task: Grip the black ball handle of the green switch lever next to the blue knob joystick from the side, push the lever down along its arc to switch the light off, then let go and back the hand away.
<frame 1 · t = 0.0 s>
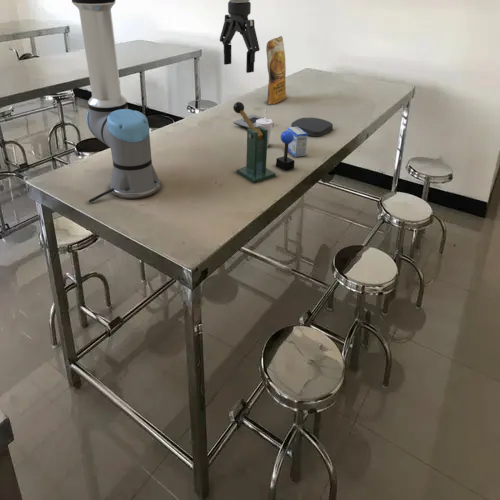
hand: (238, 68, 172), 28 cm above the table, tool pointing down, fingers open, 13 cm apart
media streaming box: (311, 130, 202), on the table
switch bracket: (255, 174, 164), on the table
blue knob joystick: (284, 167, 170), on the table
medicine box: (295, 153, 181), on the table
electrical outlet: (252, 126, 204), on the table
smoothie: (263, 146, 186), on the table
switch lever: (247, 120, 158), point 17 cm above the table, hinge at 30.0°
pancake mix bag: (275, 100, 235), on the table
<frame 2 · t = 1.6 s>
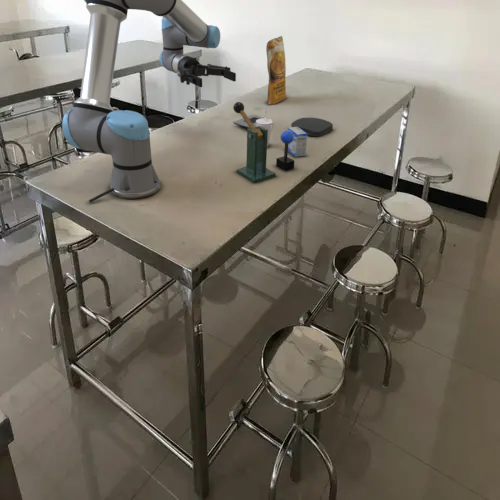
hand: (218, 80, 164), 26 cm above the table, tool horizontal, fingers open, 13 cm apart
nothing on the table moved.
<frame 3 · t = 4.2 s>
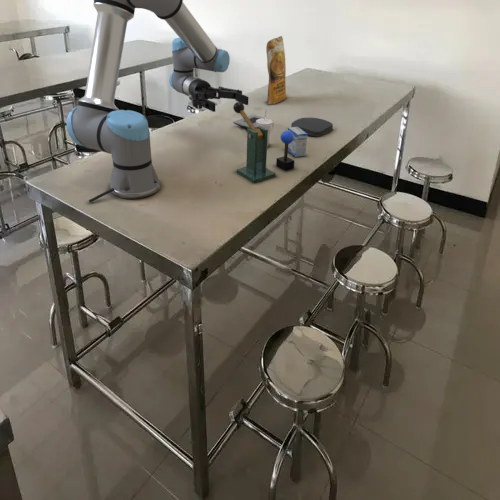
hand: (231, 104, 163), 20 cm above the table, tool horizontal, fingers open, 13 cm apart
nothing on the table moved.
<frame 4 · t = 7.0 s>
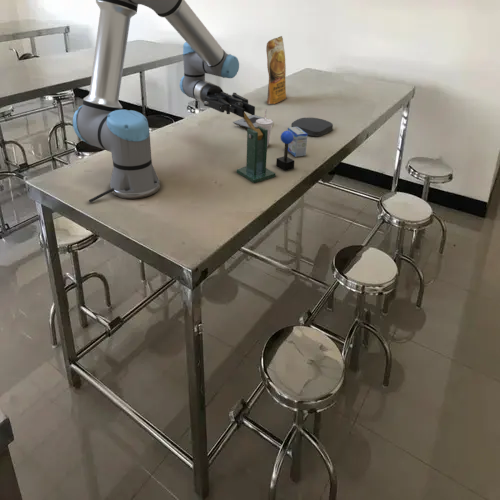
hand: (248, 112, 156), 20 cm above the table, tool horizontal, fingers closed on switch lever, 4 cm apart
switch lever: (247, 120, 158), point 17 cm above the table, hinge at 30.0°, touching gripper
everything else where it was.
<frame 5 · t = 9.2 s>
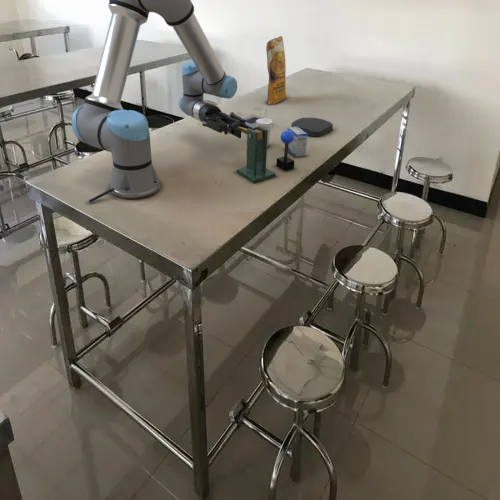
hand: (245, 132, 161), 13 cm above the table, tool horizontal, fingers closed on switch lever, 4 cm apart
switch lever: (245, 130, 161), point 13 cm above the table, hinge at -5.0°, touching gripper
everything else where it was.
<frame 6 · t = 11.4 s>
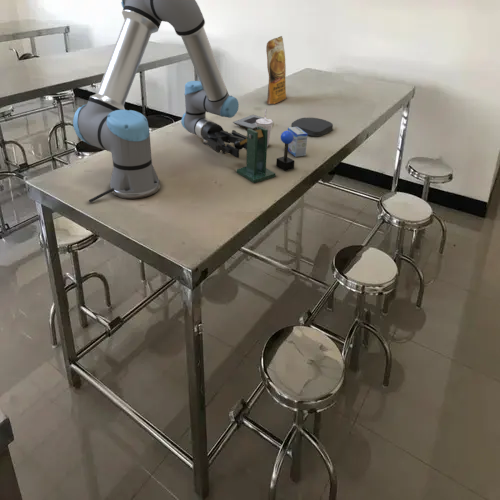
hand: (246, 151, 164), 6 cm above the table, tool horizontal, fingers open, 6 cm apart
switch lever: (247, 140, 162), point 11 cm above the table, hinge at -33.9°
everything else where it was.
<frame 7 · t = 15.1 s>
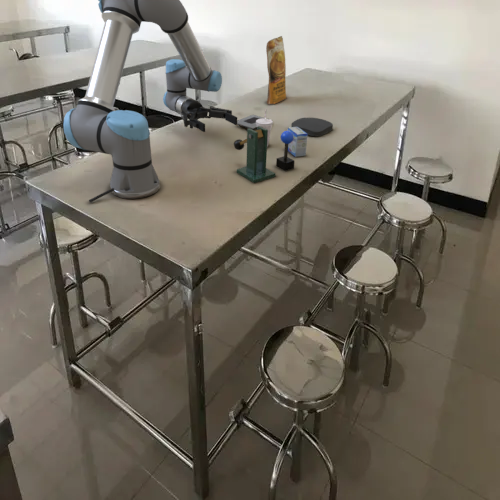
hand: (220, 124, 171), 11 cm above the table, tool horizontal, fingers open, 13 cm apart
nothing on the table moved.
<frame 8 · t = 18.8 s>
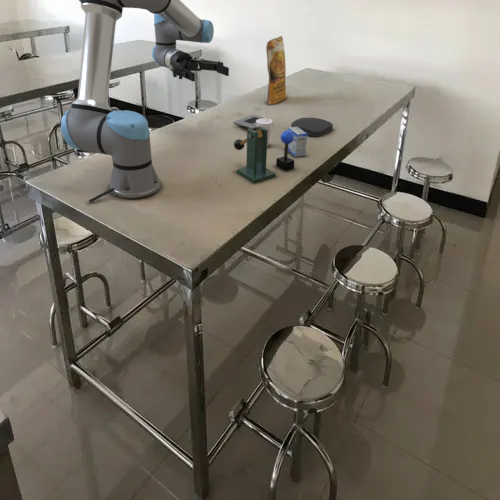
hand: (211, 74, 163), 28 cm above the table, tool horizontal, fingers open, 13 cm apart
nothing on the table moved.
at the end: switch lever at -34° (first picture: +30°); the gripper is holding nothing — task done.
